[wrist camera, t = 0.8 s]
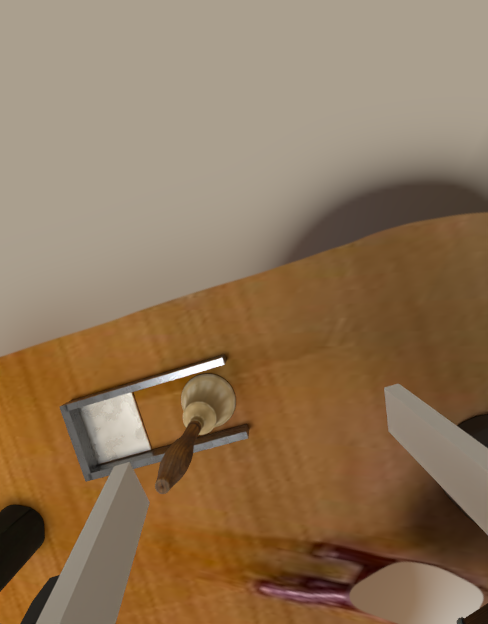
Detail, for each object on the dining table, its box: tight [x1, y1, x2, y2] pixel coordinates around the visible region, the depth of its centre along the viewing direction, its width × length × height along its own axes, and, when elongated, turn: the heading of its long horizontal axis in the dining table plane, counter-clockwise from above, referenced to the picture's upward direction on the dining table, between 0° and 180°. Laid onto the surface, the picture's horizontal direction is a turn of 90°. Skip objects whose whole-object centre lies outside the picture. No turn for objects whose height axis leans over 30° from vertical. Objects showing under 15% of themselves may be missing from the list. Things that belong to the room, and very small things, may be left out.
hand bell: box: [155, 374, 236, 494], centre depth 27 cm, size 8×8×16 cm
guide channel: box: [60, 354, 249, 481], centre depth 34 cm, size 12×26×2 cm, turn 108°
